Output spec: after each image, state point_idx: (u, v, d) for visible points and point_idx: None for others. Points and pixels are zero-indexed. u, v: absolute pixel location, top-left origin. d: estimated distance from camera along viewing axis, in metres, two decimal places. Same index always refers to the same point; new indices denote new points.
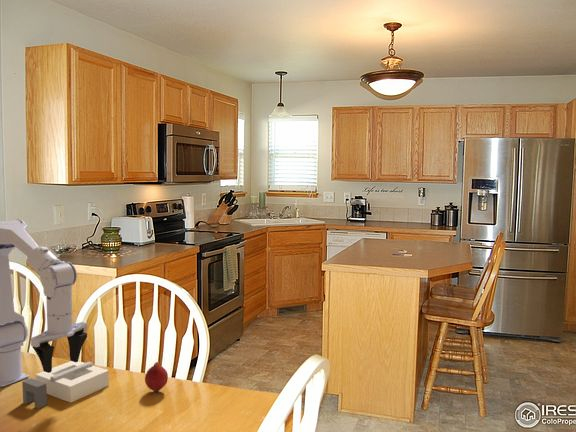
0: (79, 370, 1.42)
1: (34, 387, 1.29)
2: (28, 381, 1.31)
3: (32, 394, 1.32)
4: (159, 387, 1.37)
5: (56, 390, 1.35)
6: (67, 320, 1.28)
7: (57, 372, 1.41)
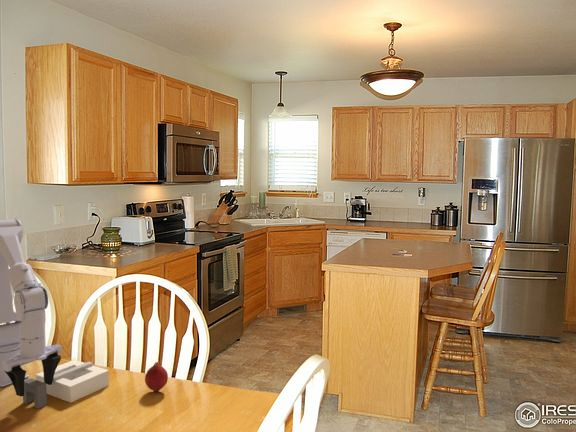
0: (79, 370, 1.42)
1: (34, 387, 1.29)
2: (28, 381, 1.31)
3: (32, 394, 1.32)
4: (159, 387, 1.37)
5: (56, 390, 1.35)
6: (39, 343, 1.28)
7: (57, 372, 1.41)
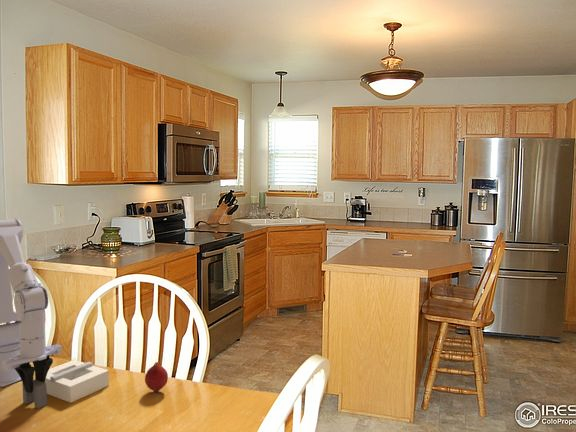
0: (79, 370, 1.42)
1: (34, 387, 1.29)
2: None
3: (32, 394, 1.32)
4: (159, 387, 1.37)
5: (56, 390, 1.35)
6: (39, 343, 1.28)
7: (57, 372, 1.41)
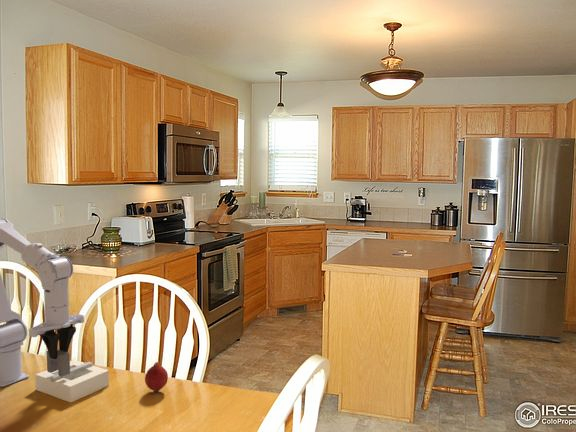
0: (79, 370, 1.42)
1: (58, 356, 1.35)
2: None
3: (56, 363, 1.38)
4: (159, 387, 1.37)
5: (56, 390, 1.35)
6: (63, 311, 1.34)
7: (57, 372, 1.41)
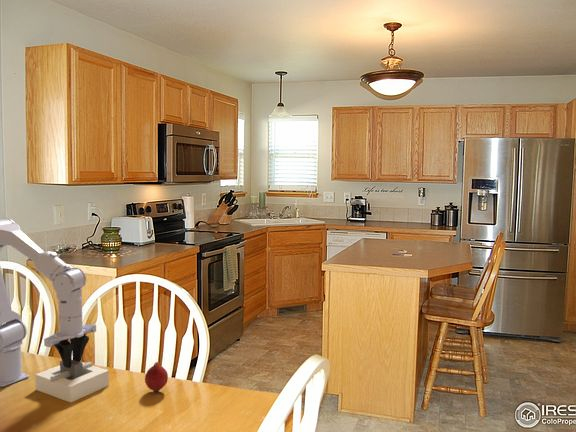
0: None
1: (71, 366, 1.38)
2: None
3: None
4: (159, 387, 1.37)
5: (56, 390, 1.35)
6: (77, 322, 1.37)
7: (57, 372, 1.41)
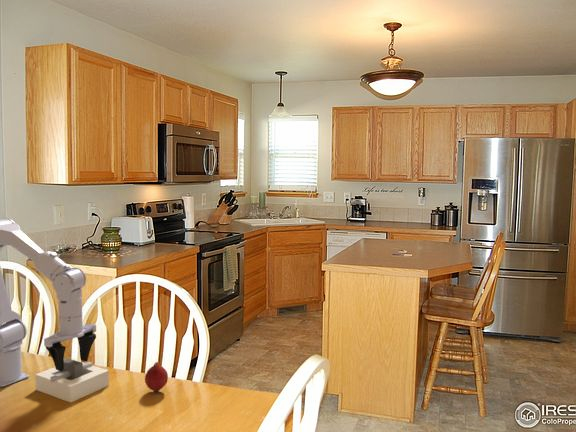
0: None
1: (71, 366, 1.38)
2: (65, 361, 1.41)
3: None
4: (159, 387, 1.37)
5: (56, 390, 1.35)
6: (77, 322, 1.37)
7: (57, 372, 1.41)
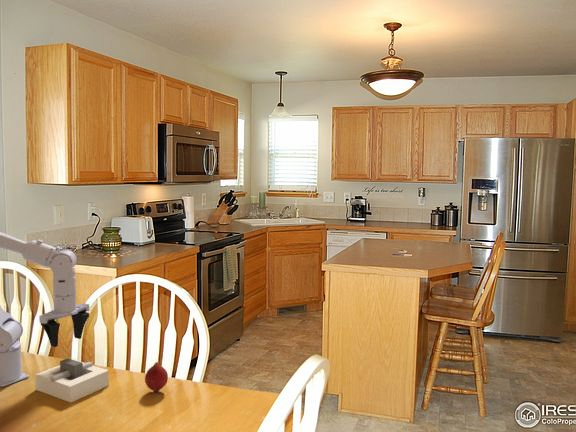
0: None
1: (71, 366, 1.38)
2: (65, 361, 1.41)
3: None
4: (159, 387, 1.37)
5: (56, 390, 1.35)
6: (71, 300, 1.44)
7: (57, 372, 1.41)
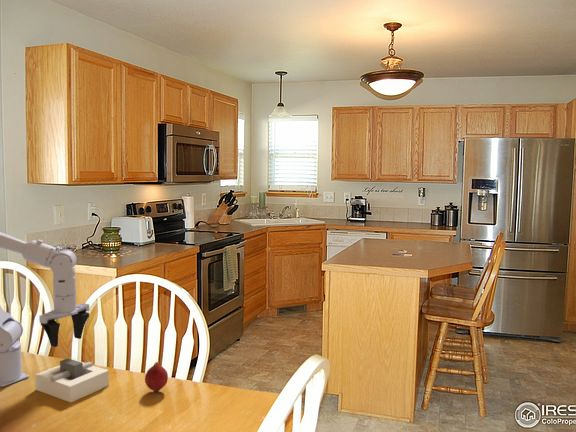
0: None
1: (71, 366, 1.38)
2: (65, 361, 1.41)
3: None
4: (159, 387, 1.37)
5: (56, 390, 1.35)
6: (71, 300, 1.44)
7: (57, 372, 1.41)
